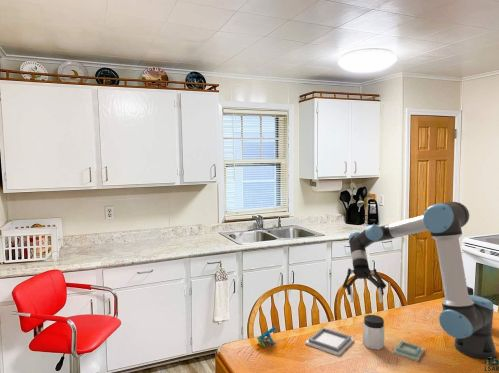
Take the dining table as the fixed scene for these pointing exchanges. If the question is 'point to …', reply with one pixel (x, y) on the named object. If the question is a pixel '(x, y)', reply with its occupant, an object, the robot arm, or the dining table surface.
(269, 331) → the blue green toy
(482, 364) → the dining table surface
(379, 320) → the jar
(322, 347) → the grey picture frame
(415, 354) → the small collar
